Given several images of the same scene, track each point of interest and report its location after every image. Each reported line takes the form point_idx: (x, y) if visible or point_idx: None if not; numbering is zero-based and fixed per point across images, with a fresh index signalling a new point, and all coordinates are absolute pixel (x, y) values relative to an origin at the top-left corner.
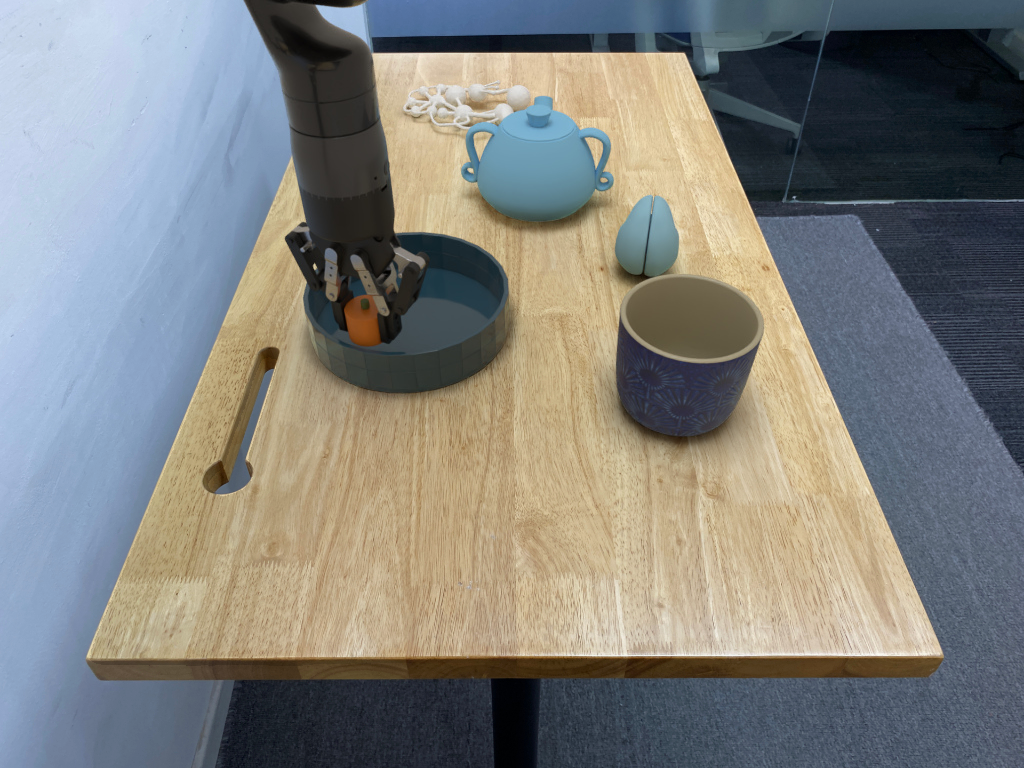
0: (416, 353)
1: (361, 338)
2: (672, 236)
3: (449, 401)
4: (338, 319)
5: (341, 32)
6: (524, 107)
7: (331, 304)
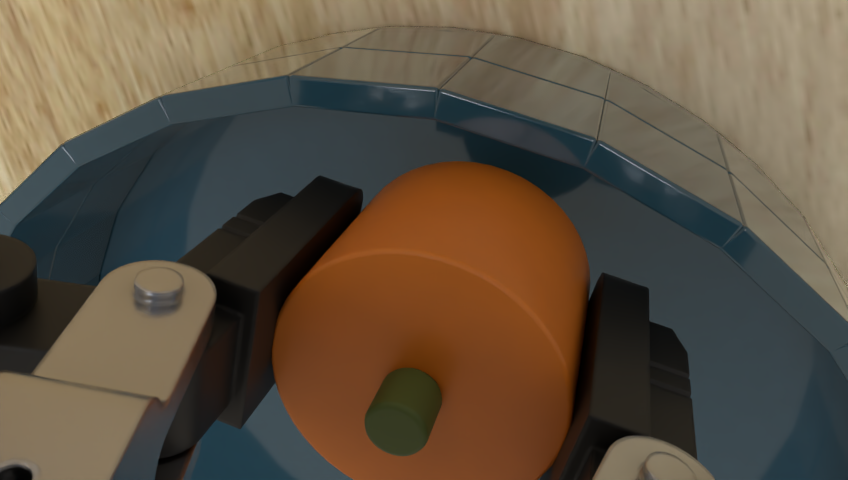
0: (146, 106)
1: (461, 184)
2: None
3: (158, 6)
4: (639, 328)
5: None
6: None
7: (694, 437)
